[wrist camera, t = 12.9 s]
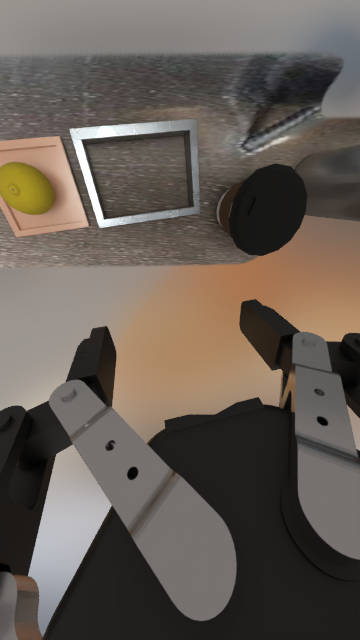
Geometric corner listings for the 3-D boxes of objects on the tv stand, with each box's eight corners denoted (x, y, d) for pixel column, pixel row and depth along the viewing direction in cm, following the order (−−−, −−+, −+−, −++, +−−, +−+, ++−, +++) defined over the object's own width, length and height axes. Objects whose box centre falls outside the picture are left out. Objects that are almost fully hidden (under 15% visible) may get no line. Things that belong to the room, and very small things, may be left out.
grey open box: (190, 125, 28) (196, 118, 26) (195, 211, 34) (200, 213, 32) (74, 135, 26) (69, 128, 24) (101, 225, 32) (99, 227, 30)
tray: (61, 138, 26) (59, 136, 25) (90, 225, 32) (89, 226, 31) (-27, 145, 25) (-33, 143, 24) (20, 235, 31) (16, 237, 30)
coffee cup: (194, 232, 36) (220, 246, 26) (218, 160, 31) (260, 144, 21) (243, 248, 40) (281, 265, 30) (271, 186, 35) (327, 183, 25)
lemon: (6, 186, 27) (-32, 183, 20) (32, 155, 26) (0, 142, 19) (45, 221, 30) (22, 228, 23) (69, 194, 29) (53, 194, 22)
